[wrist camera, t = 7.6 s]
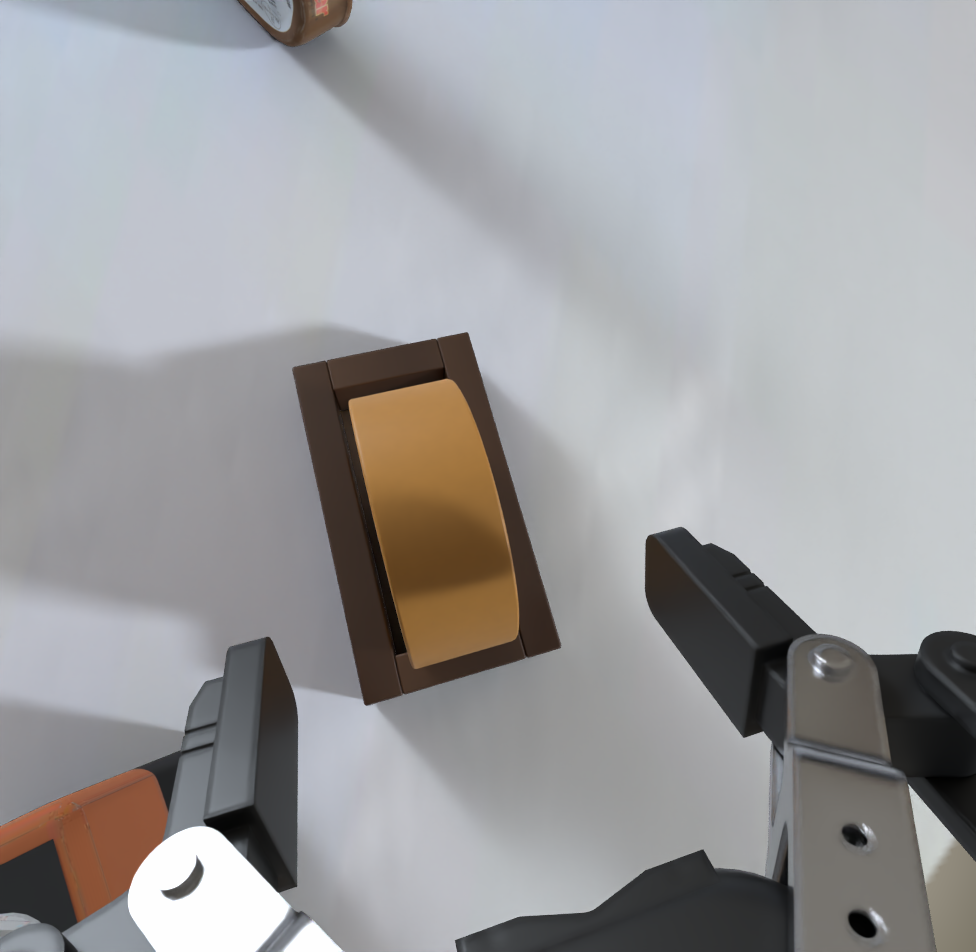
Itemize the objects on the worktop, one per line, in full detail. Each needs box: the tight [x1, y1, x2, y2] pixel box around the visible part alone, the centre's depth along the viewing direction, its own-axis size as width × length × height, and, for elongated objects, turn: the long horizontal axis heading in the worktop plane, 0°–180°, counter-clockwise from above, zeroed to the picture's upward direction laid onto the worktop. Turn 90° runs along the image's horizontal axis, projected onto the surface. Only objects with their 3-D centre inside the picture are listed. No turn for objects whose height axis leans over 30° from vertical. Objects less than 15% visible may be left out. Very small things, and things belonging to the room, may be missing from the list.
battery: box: [0, 751, 181, 938], centre depth 14 cm, size 4×7×10 cm, turn 116°
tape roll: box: [348, 379, 519, 669], centre depth 18 cm, size 3×8×8 cm, turn 16°
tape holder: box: [292, 332, 561, 706], centre depth 22 cm, size 6×12×2 cm, turn 16°
